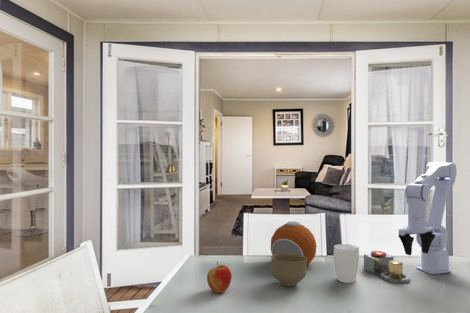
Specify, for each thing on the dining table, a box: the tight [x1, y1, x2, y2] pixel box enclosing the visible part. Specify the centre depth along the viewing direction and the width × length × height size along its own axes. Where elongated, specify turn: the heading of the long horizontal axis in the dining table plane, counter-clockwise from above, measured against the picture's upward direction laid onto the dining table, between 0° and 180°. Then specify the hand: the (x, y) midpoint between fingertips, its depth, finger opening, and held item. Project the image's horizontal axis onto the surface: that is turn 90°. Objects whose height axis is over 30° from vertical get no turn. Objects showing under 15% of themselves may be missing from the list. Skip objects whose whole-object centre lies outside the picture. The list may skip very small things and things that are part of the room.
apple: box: [206, 261, 232, 294], centre depth 119 cm, size 8×8×10 cm
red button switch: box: [363, 250, 411, 285], centre depth 136 cm, size 10×20×7 cm, turn 17°
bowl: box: [270, 254, 307, 287], centre depth 125 cm, size 13×13×10 cm
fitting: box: [387, 260, 404, 279], centre depth 131 cm, size 5×5×6 cm
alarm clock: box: [270, 221, 317, 268], centre depth 149 cm, size 19×18×17 cm
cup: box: [333, 243, 360, 284], centre depth 130 cm, size 9×9×12 cm
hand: (416, 253), depth 130 cm, fingers open, 7 cm apart
